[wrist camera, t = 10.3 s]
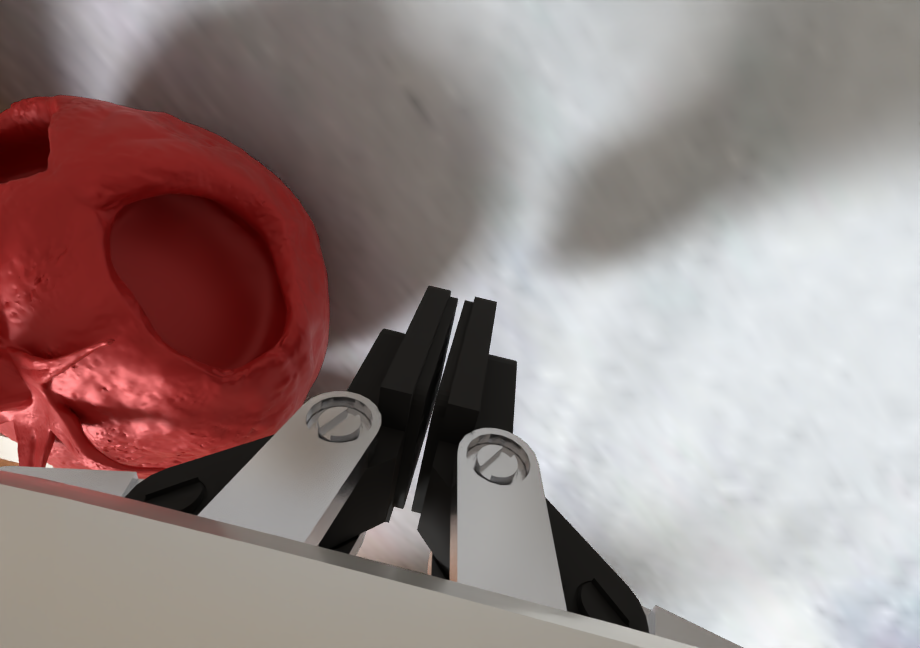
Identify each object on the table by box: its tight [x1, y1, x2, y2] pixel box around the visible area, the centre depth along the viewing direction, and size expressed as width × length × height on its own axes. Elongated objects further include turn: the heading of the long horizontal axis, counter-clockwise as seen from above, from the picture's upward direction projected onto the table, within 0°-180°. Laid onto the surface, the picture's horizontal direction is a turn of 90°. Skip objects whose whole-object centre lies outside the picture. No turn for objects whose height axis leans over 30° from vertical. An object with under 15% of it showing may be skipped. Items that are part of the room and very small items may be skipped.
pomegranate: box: [0, 95, 330, 479], centre depth 11 cm, size 10×10×9 cm
